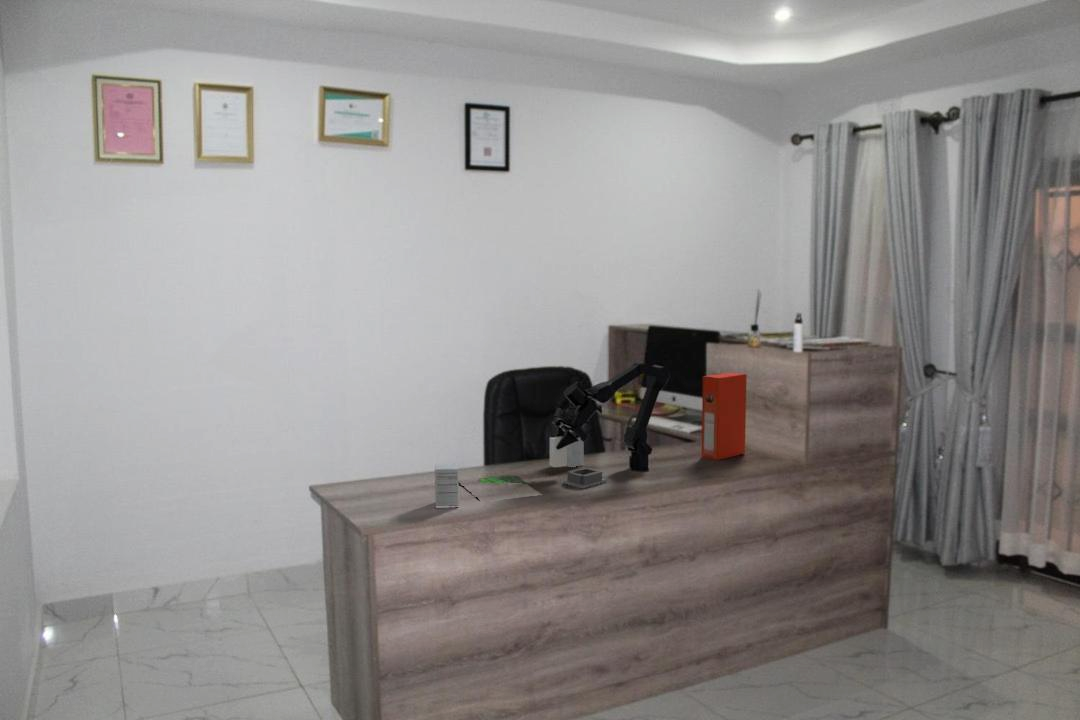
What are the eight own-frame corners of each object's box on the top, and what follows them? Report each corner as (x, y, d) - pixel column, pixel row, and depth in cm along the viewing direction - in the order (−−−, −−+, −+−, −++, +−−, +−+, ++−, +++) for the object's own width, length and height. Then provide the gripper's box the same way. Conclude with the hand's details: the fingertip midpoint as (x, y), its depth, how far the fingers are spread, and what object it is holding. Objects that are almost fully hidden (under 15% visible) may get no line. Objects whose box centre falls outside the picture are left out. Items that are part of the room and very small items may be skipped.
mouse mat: (545, 496, 283) (545, 493, 283) (481, 504, 275) (481, 500, 275) (515, 477, 308) (515, 474, 308) (456, 483, 300) (456, 480, 300)
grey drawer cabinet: (435, 502, 275) (435, 463, 274) (459, 501, 276) (458, 463, 275) (434, 508, 268) (434, 469, 267) (458, 508, 269) (458, 468, 267)
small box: (584, 465, 324) (584, 431, 322) (571, 468, 320) (571, 433, 318) (569, 461, 330) (569, 428, 328) (557, 464, 326) (557, 430, 324)
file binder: (700, 457, 337) (702, 376, 334) (728, 450, 348) (730, 372, 345) (717, 460, 331) (719, 378, 327) (744, 454, 342) (747, 374, 339)
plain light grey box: (562, 463, 307) (562, 436, 305) (566, 466, 304) (566, 438, 302) (549, 465, 305) (549, 437, 303) (553, 467, 301) (553, 439, 300)
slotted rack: (587, 477, 306) (587, 466, 305) (606, 482, 299) (606, 471, 299) (563, 483, 298) (563, 472, 297) (582, 488, 291) (582, 477, 291)
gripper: (557, 395, 311) (529, 428, 308) (580, 403, 294) (551, 438, 291) (576, 415, 316) (549, 447, 312) (600, 424, 299) (571, 458, 295)
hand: (554, 447), depth 303 cm, fingers closed on plain light grey box, 3 cm apart
